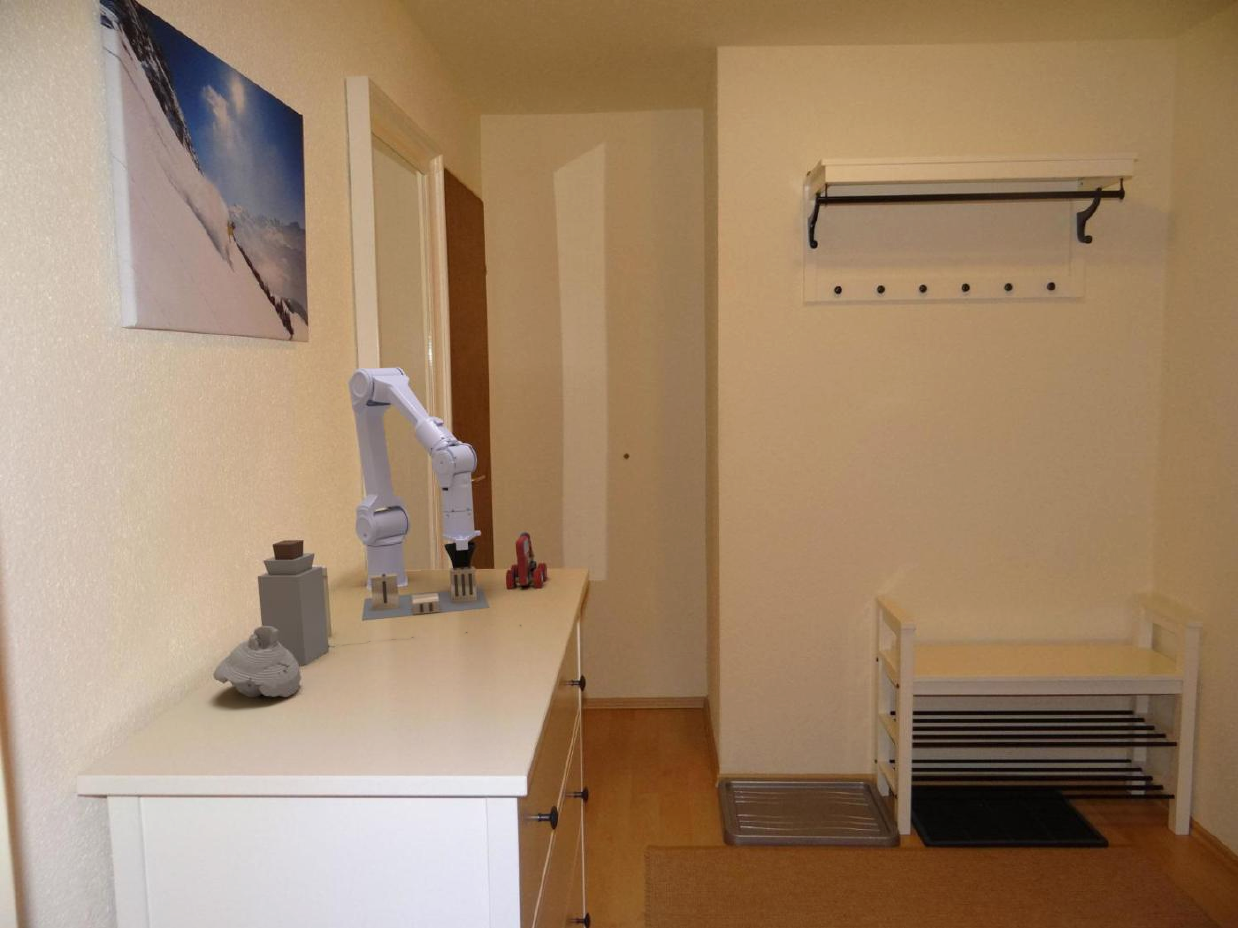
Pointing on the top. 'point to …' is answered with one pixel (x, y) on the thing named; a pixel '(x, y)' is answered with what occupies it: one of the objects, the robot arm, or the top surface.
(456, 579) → the tile three
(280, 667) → the grey clay mound
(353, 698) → the top surface
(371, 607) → the mat
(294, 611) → the perfume bottle
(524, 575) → the red wheeled toy
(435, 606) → the tile two
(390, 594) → the tile one
